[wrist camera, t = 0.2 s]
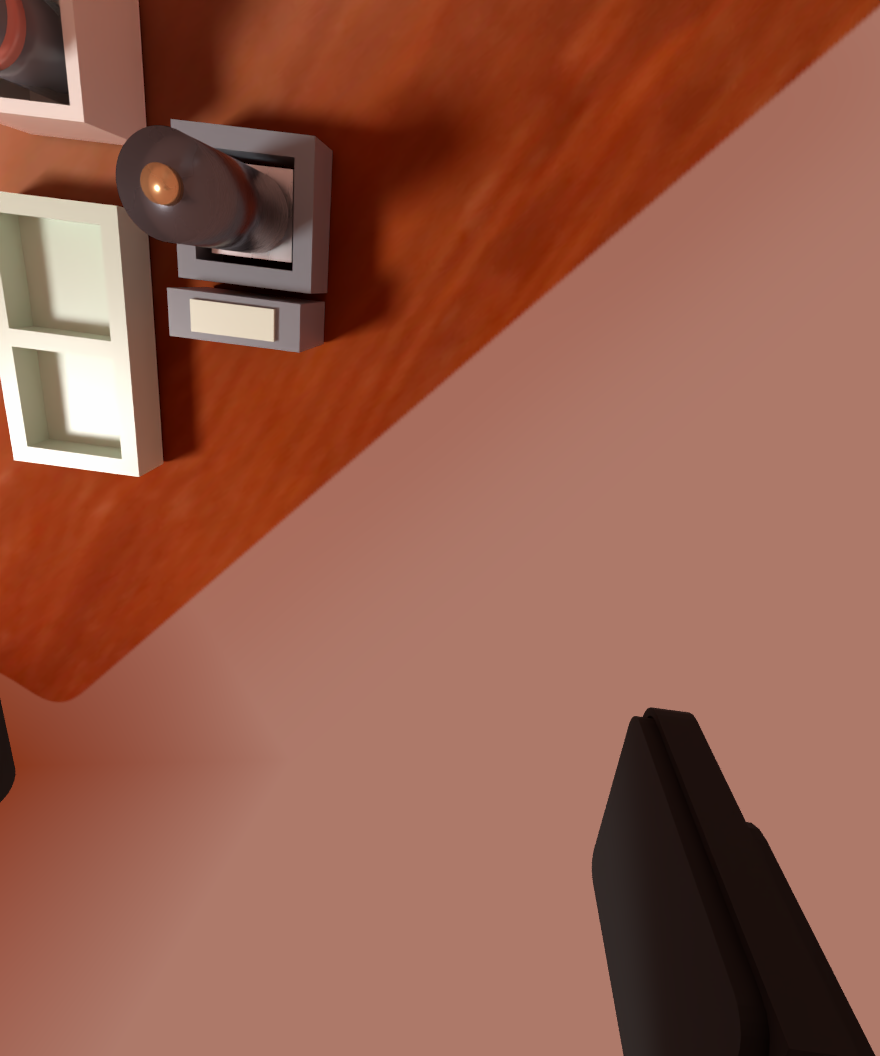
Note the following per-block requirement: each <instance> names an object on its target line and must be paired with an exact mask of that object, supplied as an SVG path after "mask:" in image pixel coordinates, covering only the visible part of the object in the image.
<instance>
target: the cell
mask: <svg viewBox="0 0 880 1056" xmlns="http://www.w3.org/2000/svg"><path fill="white" fill-rule="evenodd" d="M116 183H117V189H118V193H119V197H120V199H121V202H122V204H123V206H124V208H125V210H126V212H127V214H128V215H129V217H130V218H131V219H132V221H133V222H134V223H135V224H136V225H137V226H138V227H139V228H140V229H141V230H143V231H144V232H145V233H147V234H148V235H150V236H151V237H153V238H155V239H158V240H161V241H164V242H169V243H177V244H184V245H191V246H199V247H206V248H213V249H221V250H228V251H235V252H243V253H250V254H261V253H265V252H268V251H270V250H271V249H273V248H274V247H276V246H277V245H278V244H279V243H280V241H281V240H282V238H283V237H284V235H285V233H286V230H287V226H288V218H289V216H288V206H287V202H286V199H285V197H284V194H283V192H282V191H281V189H280V187H279V186H278V185H277V184H276V182H275V181H274V180H273V179H272V178H270V177H269V176H268V175H266V174H264V173H263V172H261V171H259V170H257V169H255V168H253V167H251V166H249V165H247V164H245V163H243V162H241V161H239V160H237V159H235V158H233V157H231V156H229V155H227V154H225V153H223V152H221V151H219V150H217V149H215V148H213V147H211V146H209V145H207V144H205V143H203V142H201V141H199V140H197V139H195V138H193V137H191V136H189V135H187V134H185V133H183V132H181V131H179V130H177V129H174V128H171V127H168V126H162V125H154V126H148V127H145V128H142V129H140V130H138V131H137V132H135V133H134V134H132V135H131V136H130V137H129V138H128V139H127V141H126V142H125V144H124V145H123V147H122V149H121V151H120V153H119V156H118V160H117V165H116Z"/></svg>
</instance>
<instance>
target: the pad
mask: <svg viewBox="0 0 880 1056" xmlns="http://www.w3.org/2000/svg"><path fill="white" fill-rule="evenodd" d="M247 165H249V166H251V167H253V168H255V169H257V170H259V171H261V172H263V173H264V174H266V175H268V176H269V177H270V178H272V179H273V180H274V181H275V182H276V184H277V185H278V186H279V187H280V189H281V191H282V192H283V194H284V197H285V199H286V202H287V206H288V216H289V218H288V226H287V230H286V233H285V235H284V237H283V238H282V240H281V241H280V243H279V244H278V245H277V246H276V247H274V248H273V249H271V250H270V251H268V252H265V253H261V254H250V253H243V252H235V251H228V250H221V249H213V248H212V253H217V254H225V255H233V256H241V257H249V258H258V259H266V260H274V261H282V262H290V263H293V218H294V170H293V169H284V168H276V167H268V166H259V165H251V164H247Z"/></svg>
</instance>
